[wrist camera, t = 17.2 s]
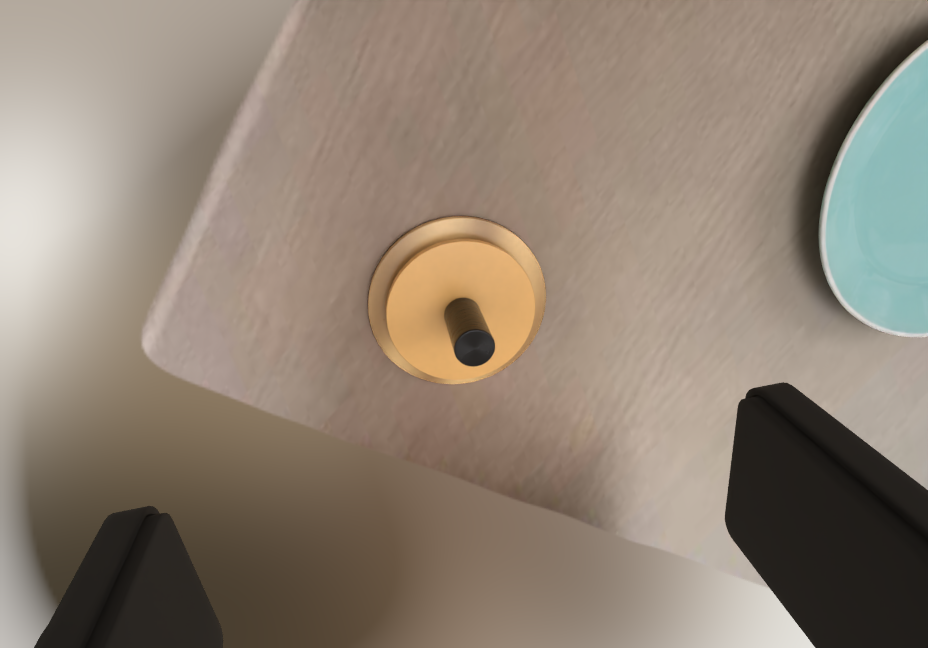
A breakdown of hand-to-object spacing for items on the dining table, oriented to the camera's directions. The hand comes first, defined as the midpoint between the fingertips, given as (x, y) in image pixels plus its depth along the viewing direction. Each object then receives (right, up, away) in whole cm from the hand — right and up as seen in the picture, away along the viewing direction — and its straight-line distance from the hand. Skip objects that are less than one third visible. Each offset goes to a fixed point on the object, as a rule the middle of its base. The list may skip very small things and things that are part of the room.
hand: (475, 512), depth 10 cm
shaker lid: (0, +4, +28) cm, 29 cm away
